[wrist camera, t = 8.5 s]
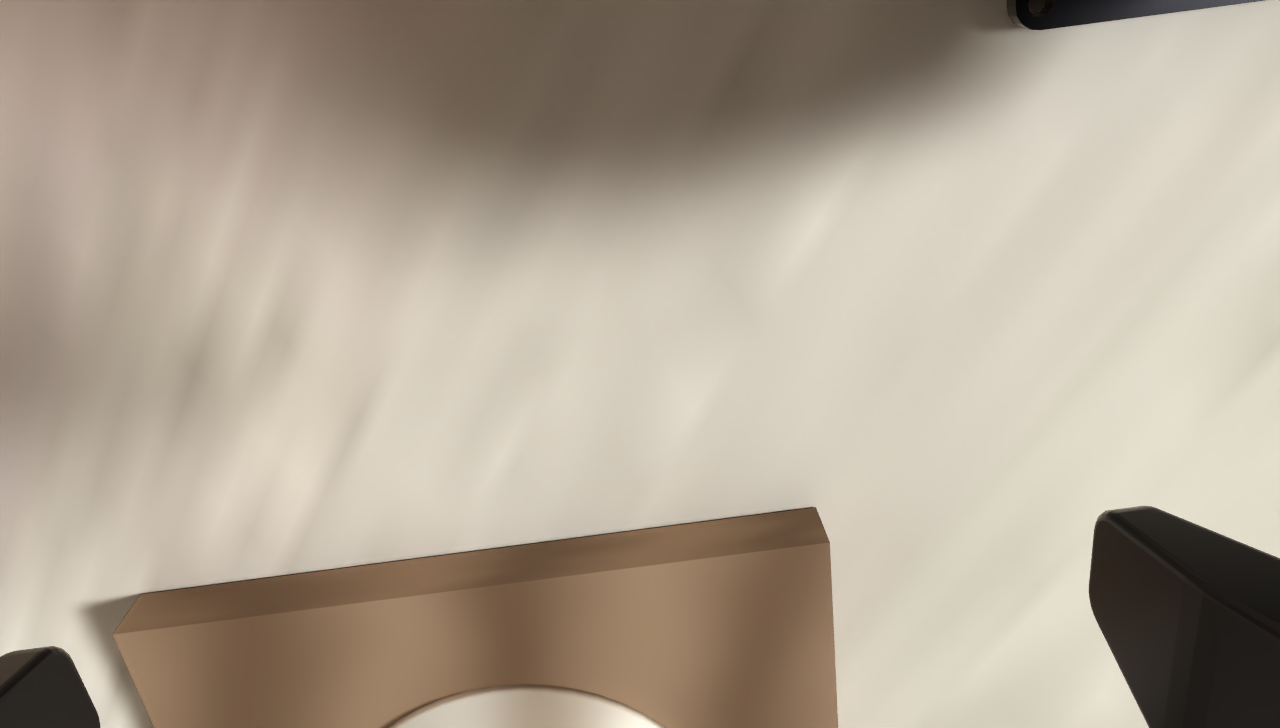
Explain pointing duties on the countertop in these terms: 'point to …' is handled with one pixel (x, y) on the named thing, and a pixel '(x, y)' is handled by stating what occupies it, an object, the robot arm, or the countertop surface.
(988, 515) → the countertop surface
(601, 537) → the walnut board
